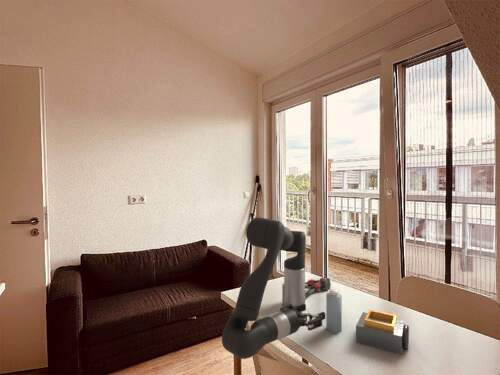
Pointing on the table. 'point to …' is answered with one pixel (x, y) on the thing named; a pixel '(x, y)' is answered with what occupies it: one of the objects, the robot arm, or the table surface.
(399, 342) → the gold-trimmed base block
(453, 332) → the table surface
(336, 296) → the light blue bottle
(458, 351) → the table surface
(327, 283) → the valve
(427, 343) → the table surface
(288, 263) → the robot arm
